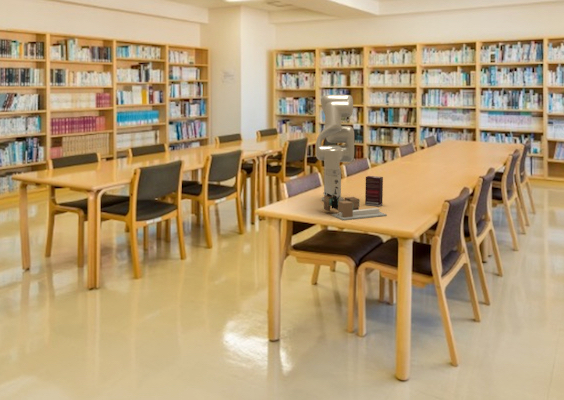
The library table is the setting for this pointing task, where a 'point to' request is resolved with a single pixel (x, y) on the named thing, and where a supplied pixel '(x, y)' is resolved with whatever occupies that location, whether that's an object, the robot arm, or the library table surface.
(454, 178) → the library table surface
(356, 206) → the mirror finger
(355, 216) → the rail board
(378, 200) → the supplement box
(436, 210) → the library table surface
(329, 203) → the block
